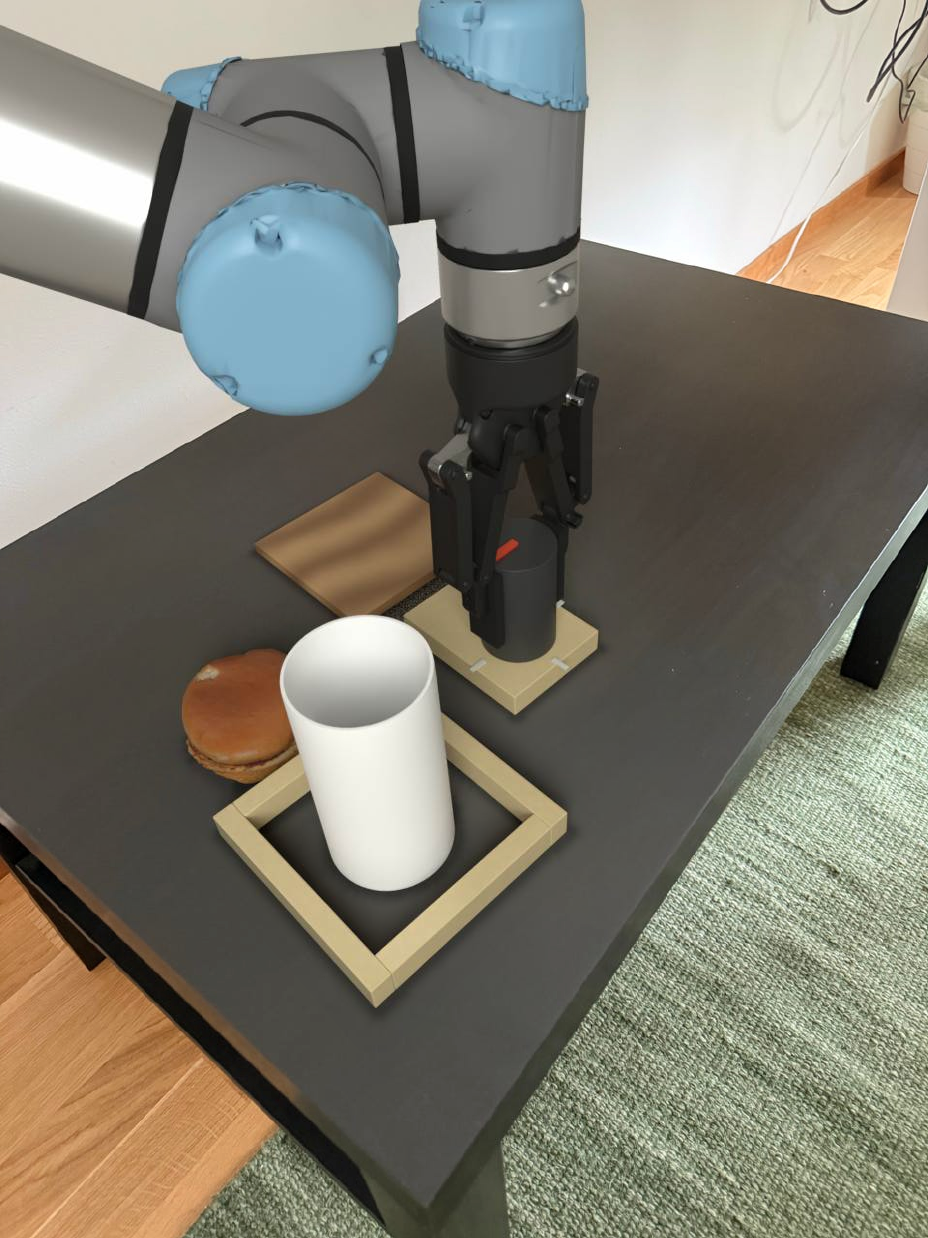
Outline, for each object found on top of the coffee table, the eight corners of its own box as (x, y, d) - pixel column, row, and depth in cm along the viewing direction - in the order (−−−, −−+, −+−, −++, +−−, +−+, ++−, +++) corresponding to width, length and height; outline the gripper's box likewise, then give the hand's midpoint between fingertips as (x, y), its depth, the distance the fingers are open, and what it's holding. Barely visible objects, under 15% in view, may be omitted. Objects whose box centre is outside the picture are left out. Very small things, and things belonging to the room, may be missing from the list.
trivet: (256, 551, 81) (253, 543, 80) (379, 479, 87) (377, 470, 87) (356, 631, 73) (355, 622, 73) (483, 545, 80) (482, 536, 79)
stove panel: (401, 635, 73) (398, 616, 71) (490, 573, 77) (489, 554, 76) (520, 726, 66) (519, 706, 64) (610, 651, 70) (611, 632, 69)
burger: (295, 795, 63) (281, 753, 59) (169, 776, 64) (149, 734, 61) (339, 685, 69) (329, 643, 66) (224, 671, 71) (208, 628, 68)
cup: (302, 850, 60) (246, 688, 48) (381, 761, 64) (347, 594, 53) (403, 915, 56) (368, 757, 45) (479, 816, 61) (465, 650, 49)
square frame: (220, 835, 61) (211, 816, 59) (403, 698, 68) (400, 679, 67) (375, 1009, 52) (370, 992, 51) (567, 831, 59) (567, 812, 58)
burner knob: (515, 598, 72) (513, 503, 65) (571, 632, 69) (574, 537, 62) (465, 637, 69) (457, 542, 63) (520, 675, 66) (518, 579, 60)
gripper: (435, 412, 45) (463, 715, 61) (668, 274, 54) (638, 572, 70) (337, 361, 49) (388, 659, 65) (568, 241, 57) (562, 530, 74)
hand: (517, 613), depth 68 cm, fingers closed on burner knob, 6 cm apart
